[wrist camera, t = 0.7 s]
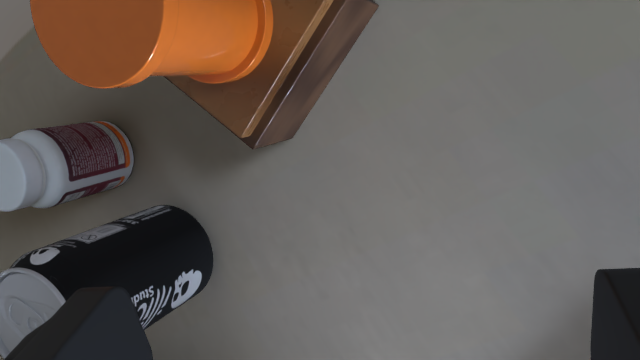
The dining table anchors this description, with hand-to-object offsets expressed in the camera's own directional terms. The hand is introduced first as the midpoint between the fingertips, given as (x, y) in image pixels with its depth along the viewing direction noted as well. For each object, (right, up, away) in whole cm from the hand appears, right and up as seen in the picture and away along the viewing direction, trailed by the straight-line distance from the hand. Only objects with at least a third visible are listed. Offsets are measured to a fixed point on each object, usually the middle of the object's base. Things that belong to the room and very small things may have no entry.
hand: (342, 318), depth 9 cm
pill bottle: (-15, +4, +28) cm, 32 cm away
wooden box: (-3, +11, +22) cm, 24 cm away
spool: (-5, +10, +16) cm, 20 cm away
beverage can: (-10, -2, +27) cm, 29 cm away
